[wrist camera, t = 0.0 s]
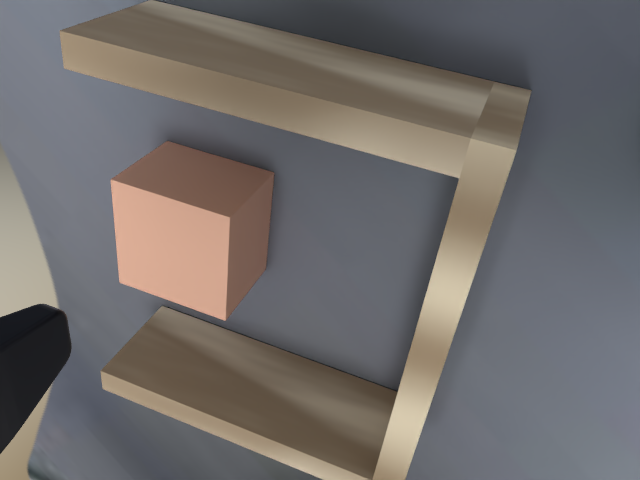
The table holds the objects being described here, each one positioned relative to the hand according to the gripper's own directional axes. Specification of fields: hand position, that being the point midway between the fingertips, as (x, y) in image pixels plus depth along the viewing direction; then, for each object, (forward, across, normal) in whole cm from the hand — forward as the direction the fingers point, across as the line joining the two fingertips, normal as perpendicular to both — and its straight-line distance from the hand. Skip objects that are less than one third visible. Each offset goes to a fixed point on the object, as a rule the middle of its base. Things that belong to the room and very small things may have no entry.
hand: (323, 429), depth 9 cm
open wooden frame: (+15, +5, +7) cm, 17 cm away
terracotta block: (+15, +10, +7) cm, 19 cm away
